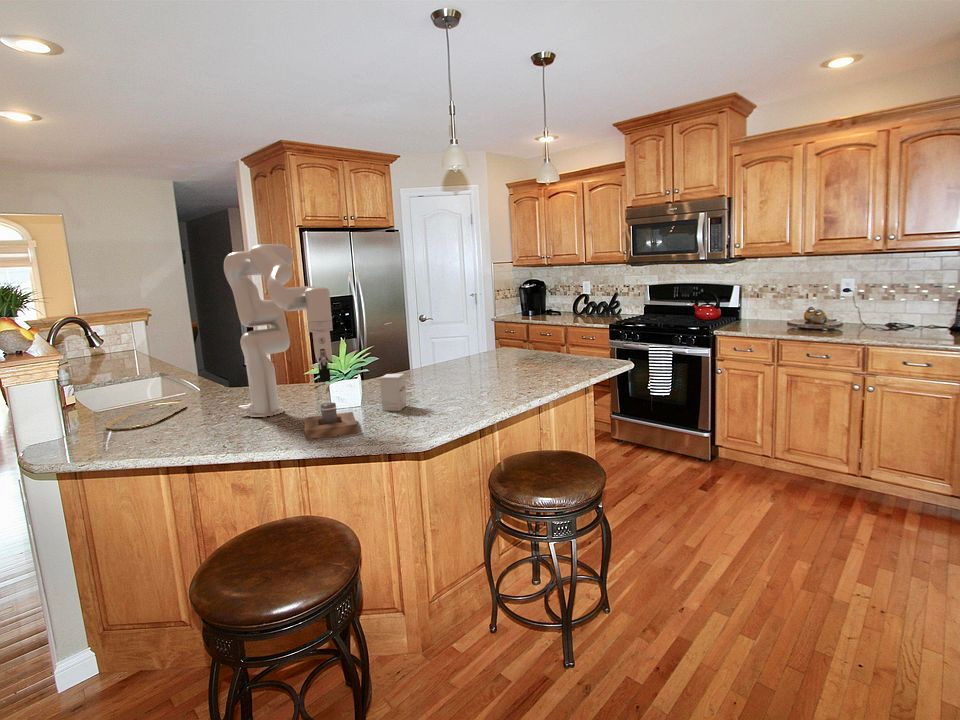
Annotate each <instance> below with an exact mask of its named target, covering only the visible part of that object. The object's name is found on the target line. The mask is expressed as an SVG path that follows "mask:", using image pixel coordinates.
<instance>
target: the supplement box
mask: <svg viewBox="0 0 960 720" xmlns="http://www.w3.org/2000/svg"><path fill="white" fill-rule="evenodd" d="M405 379H406V378H405V373H386V374H384V375H383V376H381V377H379V384H380V385H379V386H380V388H379V389H380V399H381V411H385V412H387V411H388V412H389V411H391V412H393V411H394V412H395V411H396V412H397V411H398V412H399V411H401V410H402V409H404V408H405V407H406V406H407V394H406V380H405Z"/></svg>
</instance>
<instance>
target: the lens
mask: <svg viewBox="0 0 960 720" xmlns="http://www.w3.org/2000/svg"><path fill="white" fill-rule="evenodd" d="M320 413H321V414H320V416H322V424H323V425H325V424H333V423H337V414H338V413H337V405H336V402H325V403H322V404H320Z"/></svg>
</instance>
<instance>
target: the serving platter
mask: <svg viewBox="0 0 960 720" xmlns="http://www.w3.org/2000/svg"><path fill="white" fill-rule="evenodd" d="M172 403H173V402H165V403H163V402H162V403H157V404H155V405H161V404H172ZM174 403H180V404H185V405H186V406H185V407H186V408H187V407H188V404H187V403H185V402H176V401H174ZM152 405H153V404H151V405H150V406H152ZM148 406H149V405H147V406H143V407H141V408H138V409H136V410H133V411H130V412H129V413H126V414H124V415H122V416H120V417H118V418H115V419H113V420H111V421H109V422H107V423H106V424H105V428H107V429H109V430H111V429H114V430H113V431H121V430H120V429H129V428H135V427H141V426H145V425H149V424H152V423H155V422H158V421H160V420H162V419H164V418H166V417H168V416H170V415H171V414H173V413H175V412H177V411H179V410H181V409H183V408H185V407H181V408H179V409H177V410H176V411H174V412H172V413H170V414H168V415H166V416H164V417H162V418H160V419H158V420H155V421H151V422H147V423H142V424H138V425H132V426H123V427H109V426H110V425H111V424H113V423H115V422H117V421H119V420H120V419H123V418H124V417H126V416H128V415H130V414H132V413H133V412H135V411H137V410H139V409H142V408H145V407H148ZM186 408H185V409H186ZM183 410H184V409H183ZM170 417H171V416H170ZM168 418H169V417H168ZM118 429H119V430H118ZM129 430H130V429H129Z"/></svg>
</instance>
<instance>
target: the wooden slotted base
mask: <svg viewBox="0 0 960 720" xmlns="http://www.w3.org/2000/svg"><path fill="white" fill-rule="evenodd" d="M358 433H359V432H358V423H357V420H356V418H355V416H354V412H353V411H349V412H348V411H347V412H340V413H337V423H333V424H325V425H323V424H322V415H317V416H309V417H304V436H305V438H304V439H305V440H306V439H310V440H314V439H313V438H317V439H321V438H320V437H325V438H329V436H332V437H338V436H337V435H339V436H346V435H352V434H358Z"/></svg>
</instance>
